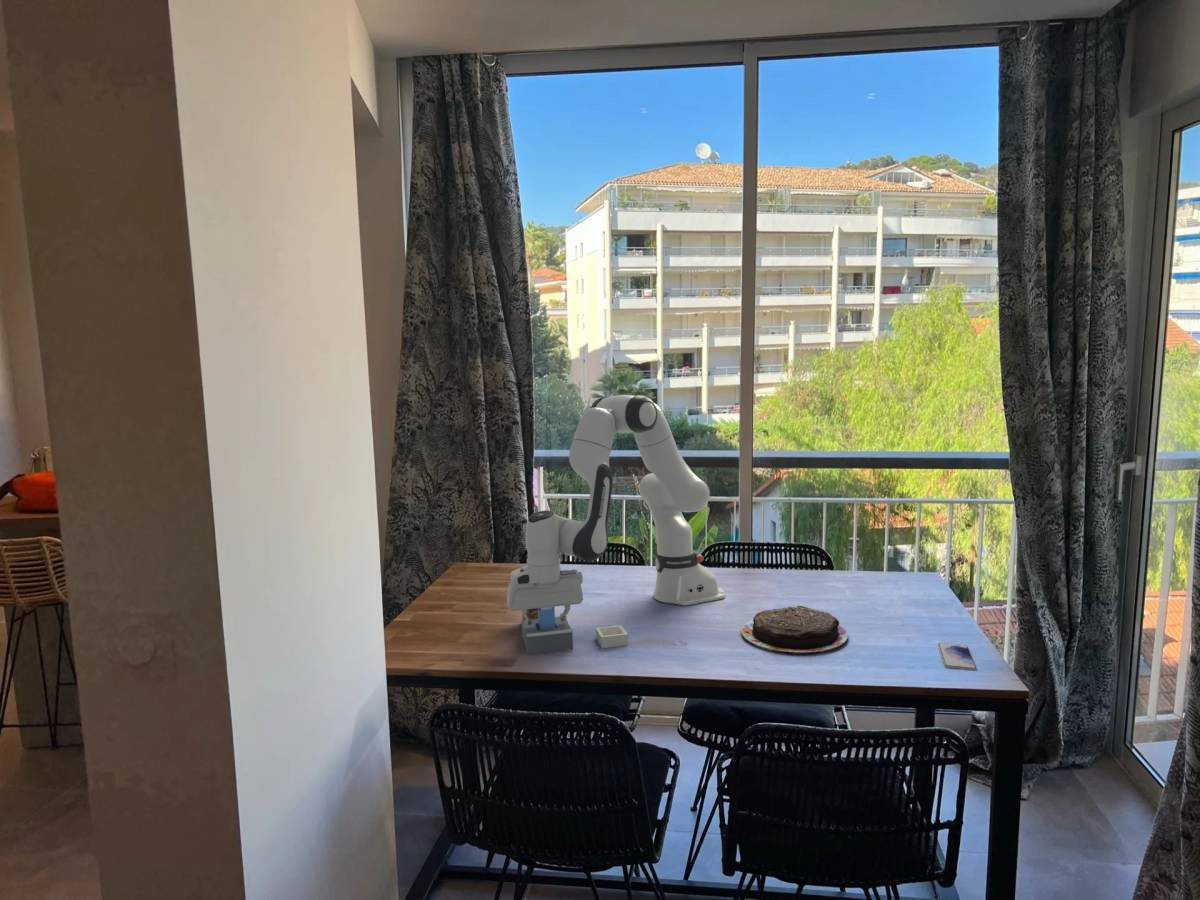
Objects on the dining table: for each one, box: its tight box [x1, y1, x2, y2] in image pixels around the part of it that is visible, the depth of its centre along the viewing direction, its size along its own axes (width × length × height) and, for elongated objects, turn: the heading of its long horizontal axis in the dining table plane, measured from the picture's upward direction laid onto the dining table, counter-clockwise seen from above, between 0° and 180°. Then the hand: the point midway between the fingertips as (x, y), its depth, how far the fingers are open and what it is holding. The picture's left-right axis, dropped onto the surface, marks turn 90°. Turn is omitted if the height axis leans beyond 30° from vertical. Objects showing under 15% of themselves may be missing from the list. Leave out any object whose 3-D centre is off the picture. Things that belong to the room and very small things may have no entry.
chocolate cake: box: [740, 605, 849, 656], centre depth 209 cm, size 28×28×7 cm
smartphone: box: [937, 642, 977, 671], centre depth 192 cm, size 7×1×15 cm
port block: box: [521, 615, 574, 655], centre depth 209 cm, size 12×12×5 cm
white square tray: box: [595, 624, 629, 649], centre depth 209 cm, size 7×7×3 cm
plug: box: [538, 607, 556, 630], centre depth 209 cm, size 4×4×10 cm
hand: (546, 622), depth 209 cm, fingers open, 8 cm apart
